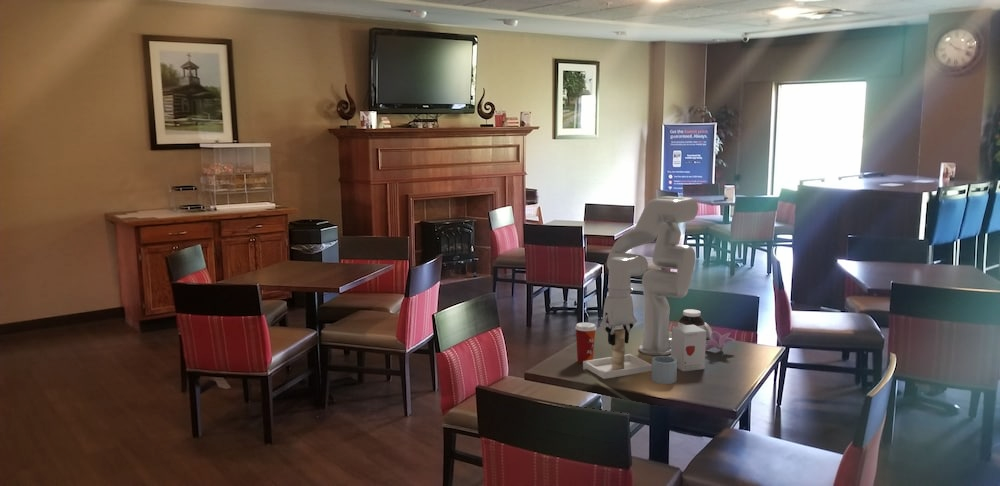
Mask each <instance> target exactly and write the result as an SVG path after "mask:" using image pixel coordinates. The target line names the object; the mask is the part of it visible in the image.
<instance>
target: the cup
mask: <svg viewBox="0 0 1000 486" xmlns="http://www.w3.org/2000/svg"><path fill="white" fill-rule="evenodd" d="M651 364H652V371H651V377H650V378H651V381H652V382H654V383H658V384H662V385H669V384H670V385H671V384H675V383H676V382H677V380H678V379H677V374H678V368H677V359H675V358H673V357H671V356H668V355H655V356H654V357H651Z"/></svg>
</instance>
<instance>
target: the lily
mask: <svg viewBox="0 0 1000 486" xmlns="http://www.w3.org/2000/svg"><path fill="white" fill-rule="evenodd" d="M730 335H731V332H727V333H724V334H721V333H720V332H719V331H716V330H712V333H711V338H710V339H706V350H707V351H709V350H711V349H714V348H716V349H718V350H719V351H720V353H721V357H722V356H723V357H724V354H723V351H724V346H725V344H729V343H732V342H735V341H736V339H734V338H733V337H729V336H730Z"/></svg>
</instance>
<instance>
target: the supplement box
mask: <svg viewBox="0 0 1000 486" xmlns="http://www.w3.org/2000/svg"><path fill="white" fill-rule="evenodd" d="M671 339H672V342H671V353H670V357H673V358H675V359H677V370H679V371H682V372H691V371H697V370H706V369H705V366H706V346H707V344H706V340H707V338H706V330H704V329H702V328H700V327H698V326H696V325H681V326H678V325H672V326H671Z"/></svg>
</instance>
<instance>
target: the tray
mask: <svg viewBox="0 0 1000 486" xmlns="http://www.w3.org/2000/svg"><path fill="white" fill-rule="evenodd" d="M582 370H583V371H584V370H588V371H590V372H591V373H593V374H595V375H596V376H598V377H600V378H602V379H603V380H605V379H612V378H616V377H618V378H619V377H623V376H631V375H636V374H640V373H641V374H642V373H643V374H644V373H648V372H652V363H650V362H648V361H646V360H644V359H642V358H640V357H638V356H636V355H634V354H632V353H628V354H625V355H624V369H619V370H613V369H612V356H608V357H602V358H601V357H600V358H596V359H595V358H593V360H587V361H583V364H582Z"/></svg>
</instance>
